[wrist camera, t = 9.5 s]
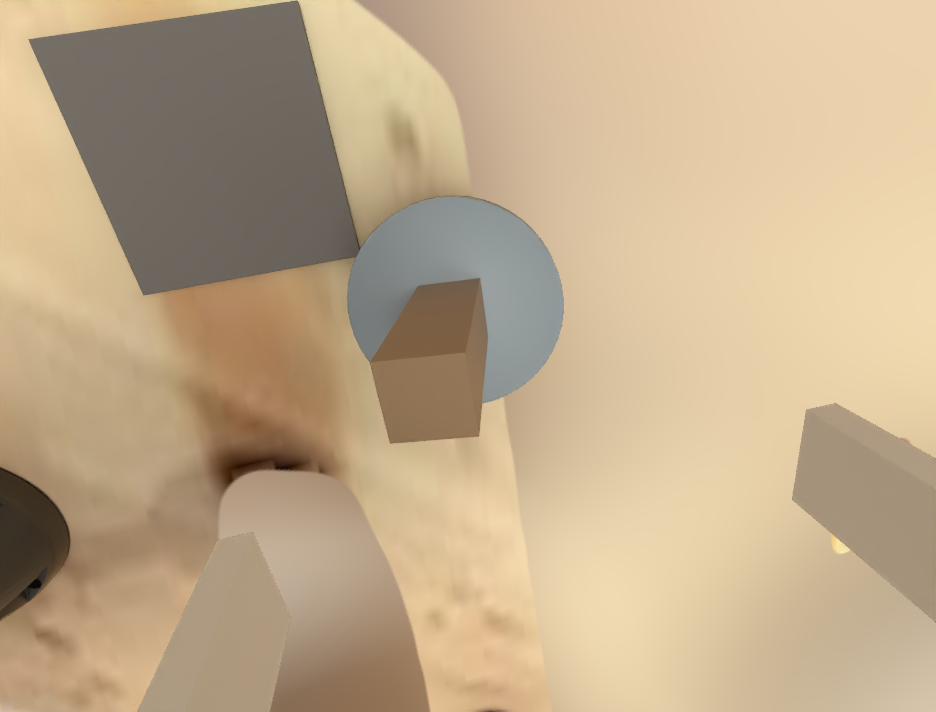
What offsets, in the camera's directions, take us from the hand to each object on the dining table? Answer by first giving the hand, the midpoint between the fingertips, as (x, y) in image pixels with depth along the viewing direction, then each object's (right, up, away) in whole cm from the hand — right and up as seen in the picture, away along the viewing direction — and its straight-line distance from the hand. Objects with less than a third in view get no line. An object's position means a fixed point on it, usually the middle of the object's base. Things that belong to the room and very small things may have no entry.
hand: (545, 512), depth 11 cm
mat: (-19, +17, +21) cm, 33 cm away
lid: (-3, +7, +16) cm, 18 cm away
